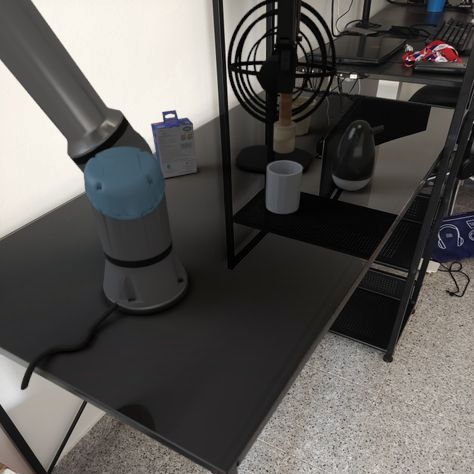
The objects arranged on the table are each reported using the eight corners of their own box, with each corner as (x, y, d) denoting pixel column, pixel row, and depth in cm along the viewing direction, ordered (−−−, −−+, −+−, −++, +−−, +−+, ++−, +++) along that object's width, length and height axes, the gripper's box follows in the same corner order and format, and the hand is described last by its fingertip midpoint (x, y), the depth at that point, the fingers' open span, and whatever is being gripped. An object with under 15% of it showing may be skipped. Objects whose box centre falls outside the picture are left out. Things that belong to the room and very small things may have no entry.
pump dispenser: (371, 197, 103) (386, 130, 92) (327, 193, 105) (337, 127, 94) (371, 178, 110) (384, 114, 99) (330, 175, 112) (339, 111, 101)
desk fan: (327, 152, 122) (348, -6, 97) (319, 179, 110) (341, 6, 85) (235, 145, 127) (232, -8, 102) (218, 170, 115) (211, 3, 90)
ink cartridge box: (192, 164, 118) (186, 106, 107) (198, 172, 114) (193, 113, 104) (157, 171, 115) (148, 112, 105) (162, 179, 112) (153, 119, 101)
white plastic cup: (279, 217, 97) (281, 178, 91) (259, 204, 102) (260, 166, 95) (305, 207, 100) (309, 169, 94) (284, 194, 105) (287, 157, 98)
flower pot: (277, 128, 136) (279, 98, 129) (305, 125, 137) (308, 94, 131) (289, 139, 129) (291, 108, 123) (317, 135, 131) (321, 104, 125)
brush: (281, 155, 80) (287, 21, 66) (269, 148, 82) (271, 18, 68) (298, 149, 81) (307, 18, 67) (285, 143, 84) (292, 14, 69)
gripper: (318, -109, 52) (302, 105, 69) (327, -108, 62) (312, 78, 79) (257, -106, 53) (256, 103, 70) (276, -106, 64) (271, 77, 81)
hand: (286, 90), depth 75 cm, fingers closed on brush, 2 cm apart
